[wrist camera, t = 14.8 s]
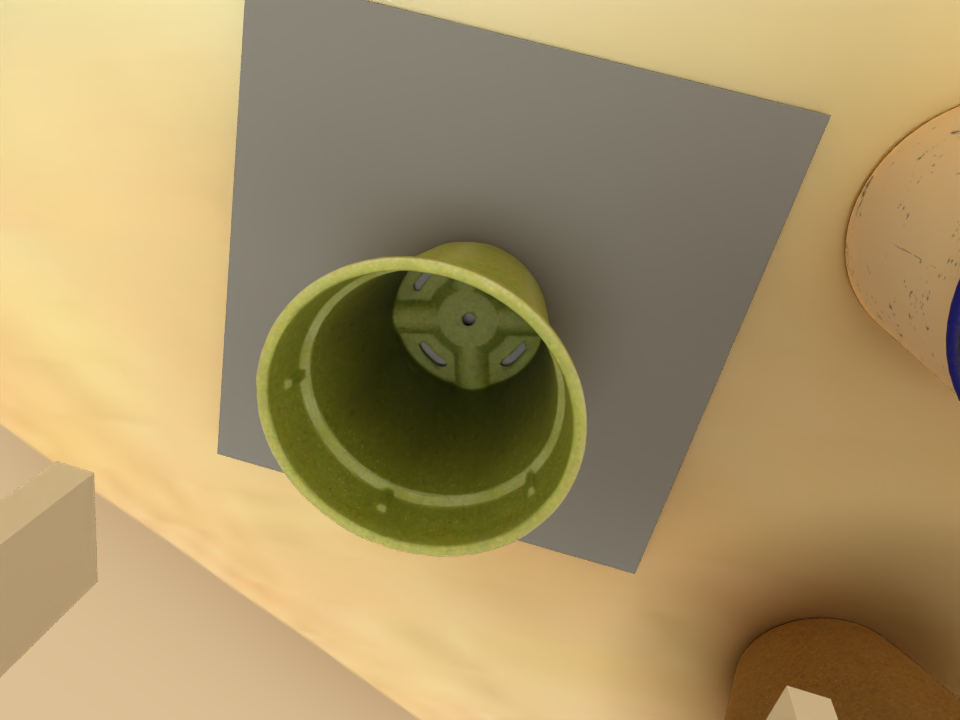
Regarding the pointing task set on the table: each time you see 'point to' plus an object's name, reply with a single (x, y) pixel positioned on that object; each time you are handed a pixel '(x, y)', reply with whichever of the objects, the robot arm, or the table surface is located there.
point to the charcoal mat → (513, 218)
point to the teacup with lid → (913, 246)
